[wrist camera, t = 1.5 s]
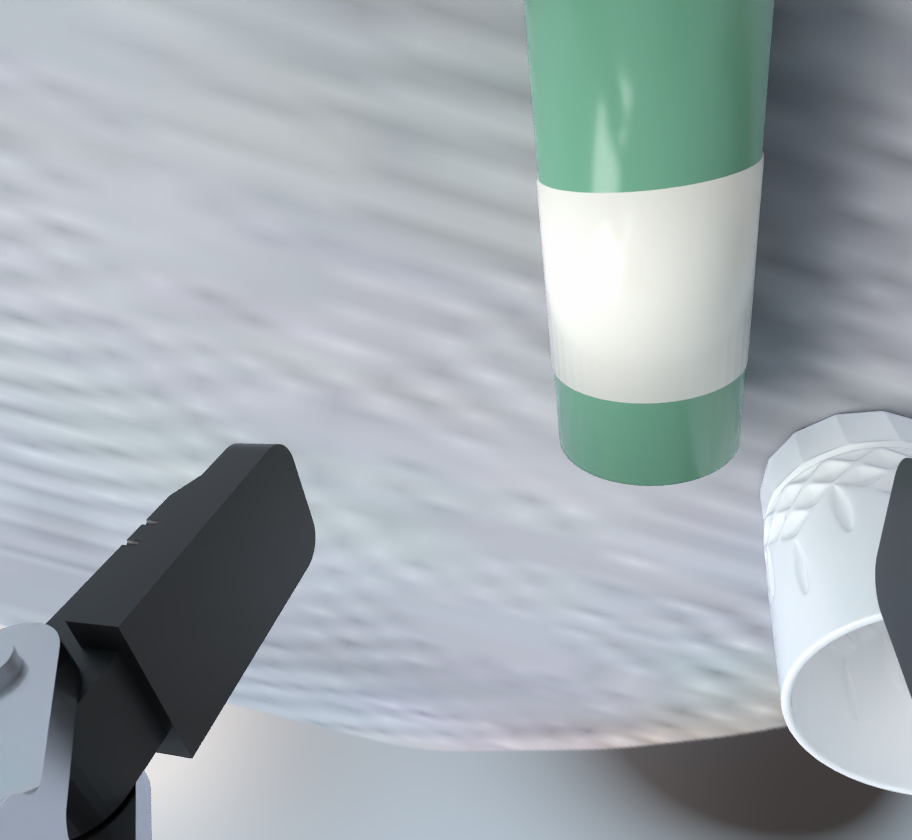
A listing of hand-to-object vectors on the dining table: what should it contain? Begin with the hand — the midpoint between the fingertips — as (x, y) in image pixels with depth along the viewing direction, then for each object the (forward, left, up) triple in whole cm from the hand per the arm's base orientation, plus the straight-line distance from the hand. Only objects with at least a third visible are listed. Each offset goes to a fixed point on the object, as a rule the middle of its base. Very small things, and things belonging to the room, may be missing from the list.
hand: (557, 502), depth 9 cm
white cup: (+12, +9, -17) cm, 22 cm away
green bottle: (-2, 0, -16) cm, 16 cm away
